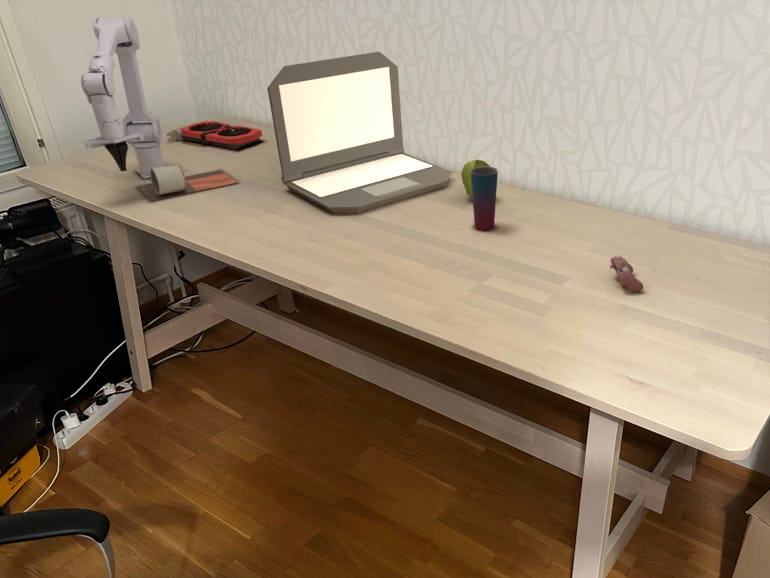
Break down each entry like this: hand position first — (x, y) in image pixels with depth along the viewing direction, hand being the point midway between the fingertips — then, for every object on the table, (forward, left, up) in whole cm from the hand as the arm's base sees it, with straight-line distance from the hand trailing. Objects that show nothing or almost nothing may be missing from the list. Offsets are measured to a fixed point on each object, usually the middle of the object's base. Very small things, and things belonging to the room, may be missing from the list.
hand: (123, 170), depth 193 cm
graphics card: (-42, +39, -9) cm, 58 cm away
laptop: (+33, +61, -9) cm, 69 cm away
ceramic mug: (0, +11, -9) cm, 14 cm away
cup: (+77, +69, -9) cm, 103 cm away
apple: (+60, +79, -9) cm, 99 cm away
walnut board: (-3, +17, -9) cm, 19 cm away
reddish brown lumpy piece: (+121, +75, -9) cm, 142 cm away
